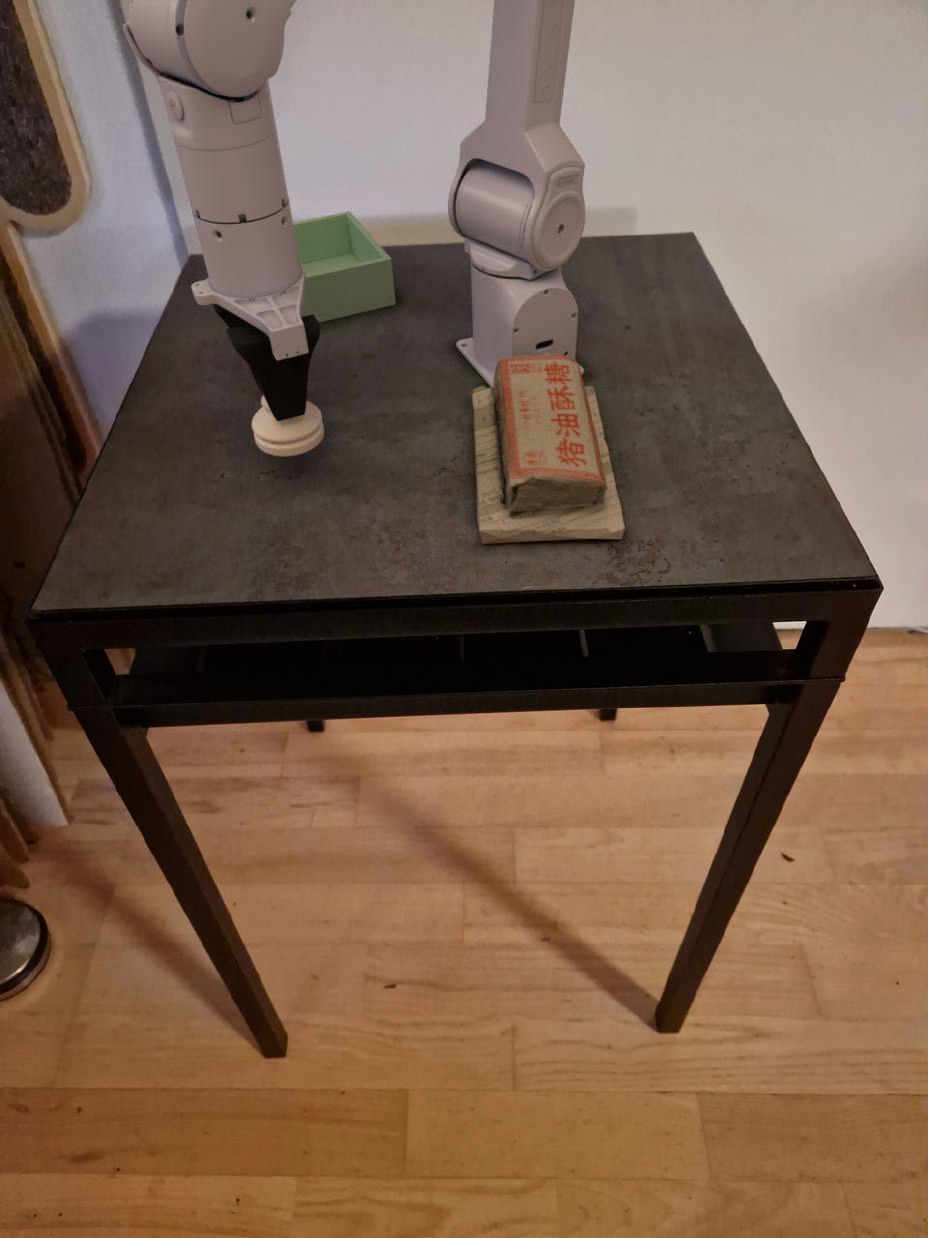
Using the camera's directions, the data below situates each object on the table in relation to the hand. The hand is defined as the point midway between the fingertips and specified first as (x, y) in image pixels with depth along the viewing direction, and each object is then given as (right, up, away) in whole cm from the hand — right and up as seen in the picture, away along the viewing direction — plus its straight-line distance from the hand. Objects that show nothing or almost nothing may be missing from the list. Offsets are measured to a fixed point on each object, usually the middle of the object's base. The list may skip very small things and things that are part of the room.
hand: (283, 402), depth 63 cm
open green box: (-2, +17, +25) cm, 30 cm away
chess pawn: (0, -2, +2) cm, 3 cm away
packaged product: (+19, -4, +5) cm, 19 cm away
